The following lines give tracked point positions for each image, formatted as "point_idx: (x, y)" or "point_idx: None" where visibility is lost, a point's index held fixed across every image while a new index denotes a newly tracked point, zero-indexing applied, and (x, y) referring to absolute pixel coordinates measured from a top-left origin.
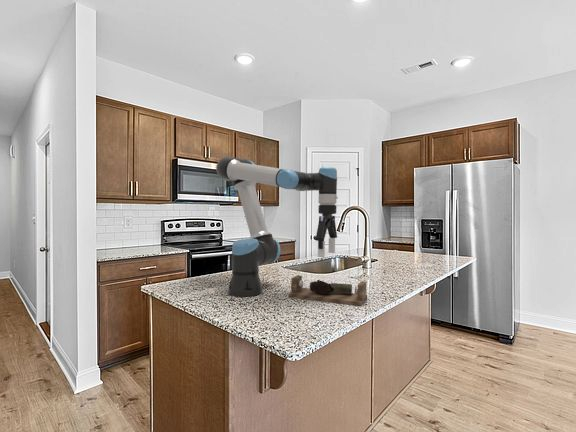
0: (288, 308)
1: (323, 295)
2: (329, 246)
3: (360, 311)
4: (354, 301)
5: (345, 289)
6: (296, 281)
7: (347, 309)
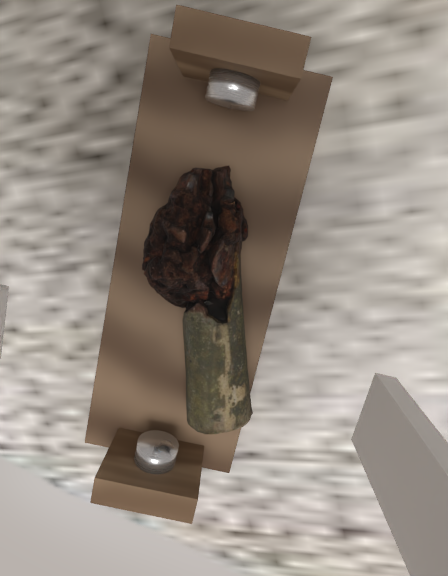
0: None
1: None
2: (401, 429)
3: (17, 427)
4: (91, 414)
5: (186, 388)
6: (190, 59)
7: (27, 376)
